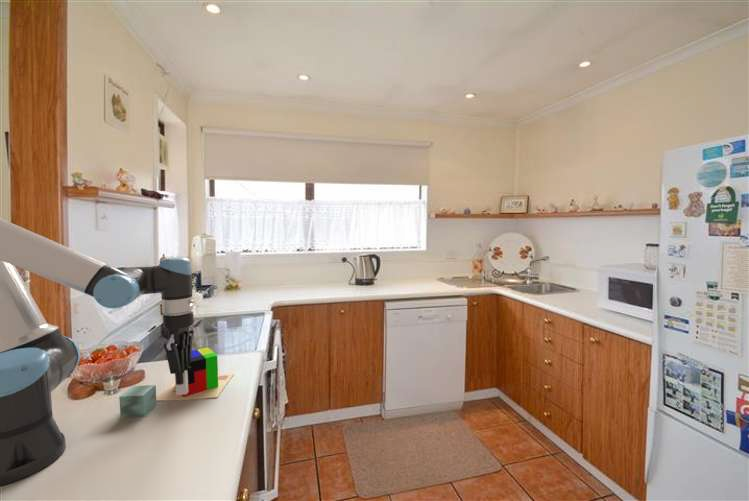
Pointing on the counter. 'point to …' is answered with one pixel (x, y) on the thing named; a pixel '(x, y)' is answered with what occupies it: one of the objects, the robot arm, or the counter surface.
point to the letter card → (170, 393)
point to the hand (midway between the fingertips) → (182, 393)
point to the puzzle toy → (202, 371)
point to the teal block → (137, 401)
